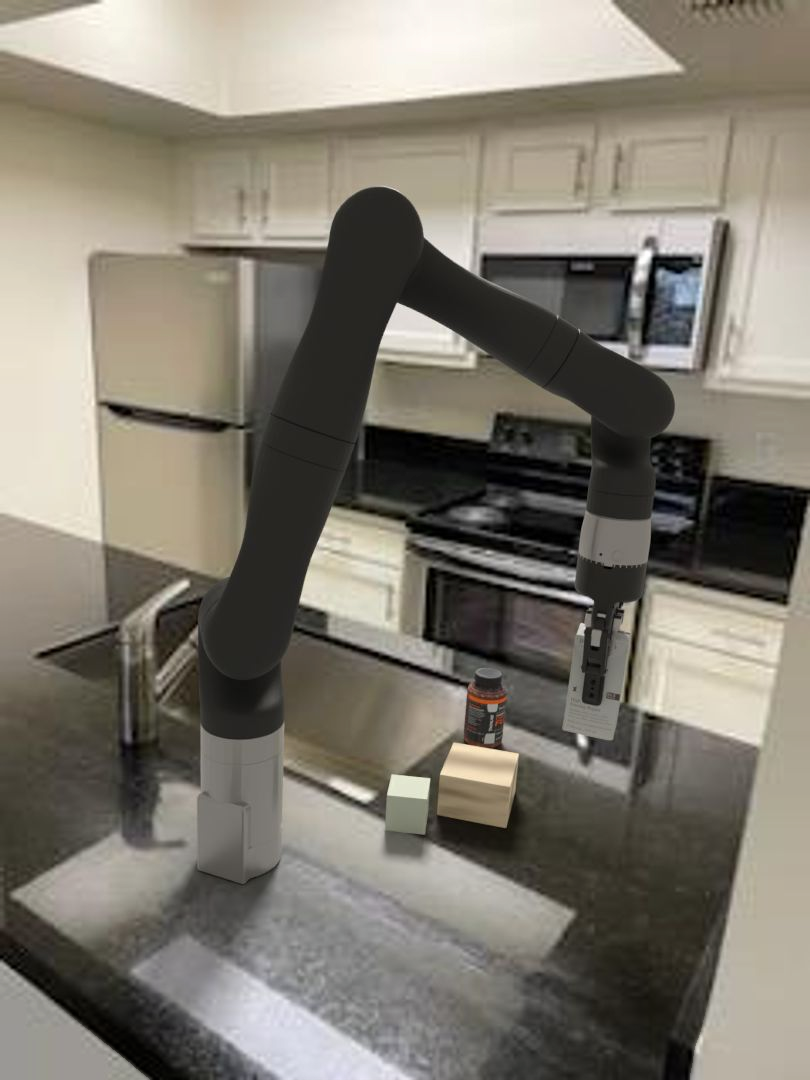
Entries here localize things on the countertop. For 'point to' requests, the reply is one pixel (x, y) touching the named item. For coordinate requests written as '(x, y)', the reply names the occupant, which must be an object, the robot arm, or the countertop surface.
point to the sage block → (407, 804)
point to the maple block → (478, 784)
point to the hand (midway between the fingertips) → (594, 694)
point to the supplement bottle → (485, 709)
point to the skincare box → (604, 716)
